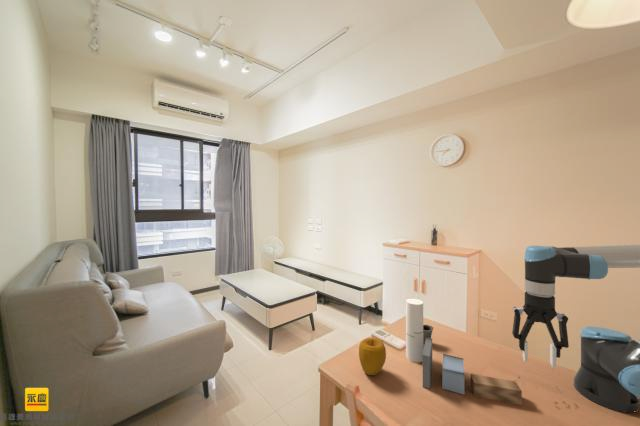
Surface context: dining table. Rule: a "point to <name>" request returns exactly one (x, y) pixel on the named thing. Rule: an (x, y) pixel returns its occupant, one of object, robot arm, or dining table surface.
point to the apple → (372, 355)
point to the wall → (427, 363)
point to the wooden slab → (496, 389)
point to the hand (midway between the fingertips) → (538, 362)
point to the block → (453, 374)
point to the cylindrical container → (414, 330)
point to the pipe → (427, 332)
